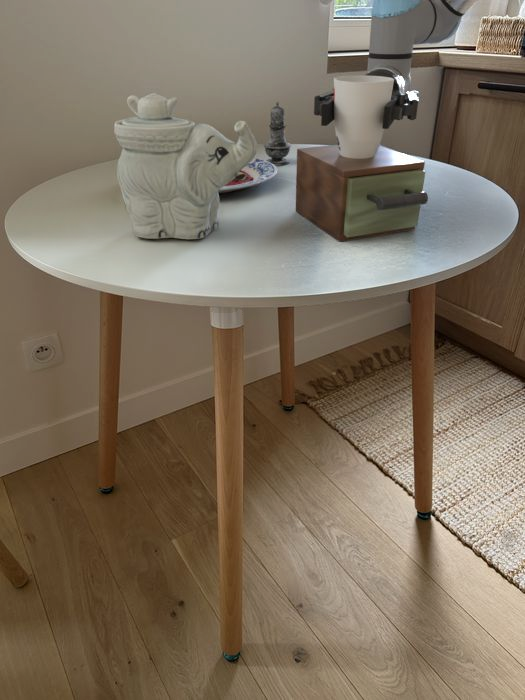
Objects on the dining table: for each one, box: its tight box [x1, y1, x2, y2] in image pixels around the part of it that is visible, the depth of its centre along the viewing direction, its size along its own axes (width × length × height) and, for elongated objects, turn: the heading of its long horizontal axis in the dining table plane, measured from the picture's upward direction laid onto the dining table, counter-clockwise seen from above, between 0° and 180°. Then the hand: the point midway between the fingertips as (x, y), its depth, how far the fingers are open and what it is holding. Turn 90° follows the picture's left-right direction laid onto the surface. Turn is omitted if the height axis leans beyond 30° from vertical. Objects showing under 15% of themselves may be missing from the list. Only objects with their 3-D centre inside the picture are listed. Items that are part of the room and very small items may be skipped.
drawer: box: [344, 169, 429, 237], centre depth 79 cm, size 18×12×8 cm, turn 22°
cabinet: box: [295, 144, 426, 242], centre depth 82 cm, size 15×13×10 cm
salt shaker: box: [263, 100, 292, 167], centre depth 113 cm, size 6×6×12 cm
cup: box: [333, 75, 394, 159], centre depth 77 cm, size 8×8×10 cm
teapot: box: [113, 92, 258, 240], centre depth 76 cm, size 16×15×19 cm
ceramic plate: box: [218, 157, 278, 194], centre depth 103 cm, size 26×26×3 cm
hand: (354, 116), depth 72 cm, fingers closed on cup, 8 cm apart
